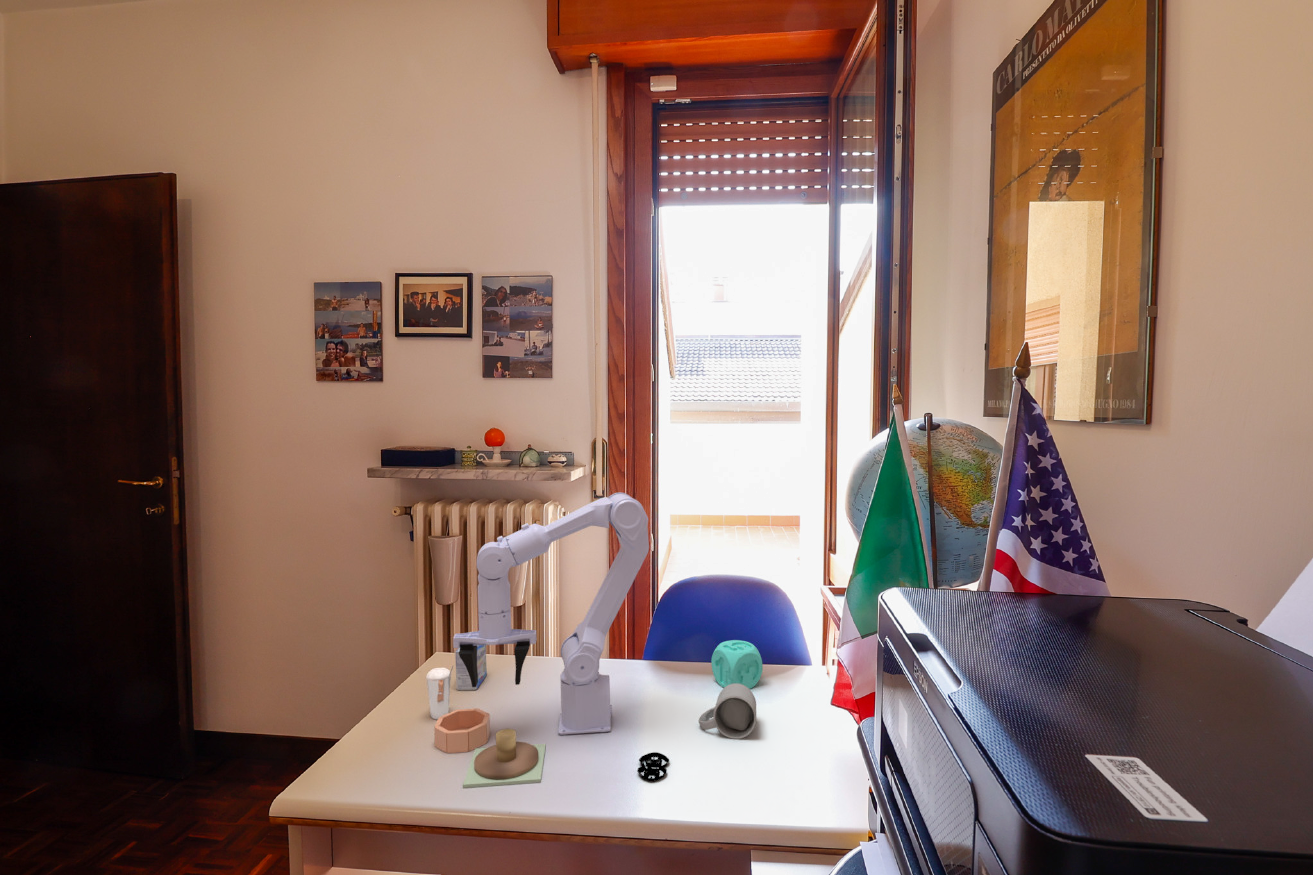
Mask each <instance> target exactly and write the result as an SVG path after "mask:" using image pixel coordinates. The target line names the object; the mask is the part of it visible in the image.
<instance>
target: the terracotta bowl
mask: <svg viewBox="0 0 1313 875" xmlns="http://www.w3.org/2000/svg"><path fill="white" fill-rule="evenodd" d="M490 716H491V715H490V713H489V712H487V711H484V710H482V709H481V708H477V707H475V708H463V709H456V710H452V711H451V712H449V713H448V714H445V715H443V716H441V717H439V719H437V721H436V723H435V725H434V726H433V727H434V729H433V730H434V747H435V748H437V749H438V750H440V751H442V752H444V753H447V754H454V753H455V754H456V753H468V752H471V751H475V749H476V748H481V747H482V746H484V745H486V744H487V743H488V741H489V738H490V735H491V717H490Z"/></svg>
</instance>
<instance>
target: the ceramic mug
mask: <svg viewBox="0 0 1313 875" xmlns="http://www.w3.org/2000/svg"><path fill="white" fill-rule="evenodd" d="M698 723H699V726H700V728H701V729H702V730H703V731H705V730H706V731H707V730H712V729H717V731H718V732H719V733H720V734H721V735H723V736H724V737H725V738H729V739H732V740H740V739H744V738H746V737H748V736H749V735H750V734H751V733H752V732H753V731H754V729H755V727H756V724H757V700H756V698H755V695H754V693H753V691H752V690H751V689H749V688H747V687H746V686H744V685H742V684H730V685H728V686H726V687H725V688H722V690H721V691H720V692H719V694H718V696H717V699H716V702H715V706H714V707H712V708H709V709H707V710H706V711H704V712H703V713H702V714H701V715H700V716H699V717H698Z"/></svg>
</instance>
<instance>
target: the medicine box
mask: <svg viewBox="0 0 1313 875" xmlns="http://www.w3.org/2000/svg"><path fill="white" fill-rule="evenodd" d="M486 646H487V645H478V646H477V671H478V683H477V686H476V687H472V684H471V679H470V676H469V673H468V671H467V668H466V666H465V664H464V663H463V661H462V659H461V658H460V656H459V651H460V647H459V648H456V650H455V652H454V654H455V655H454V656H455V657H454V658H455V680H456V681H455V682H456V691H477V690H478V689H479V687H480V686H481V685H482V683H483V682H484V680H485V678H486V677H487V675H488V673H487V647H486Z"/></svg>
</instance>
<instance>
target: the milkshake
mask: <svg viewBox="0 0 1313 875" xmlns="http://www.w3.org/2000/svg"><path fill="white" fill-rule="evenodd" d="M453 668H454V665H452V666H451V668H450V670H449V669H448V668H446V667H434V668H432V669H431V670H429V671H428V673H427V674H426V677H425V679H426V685H427V693H428V701H429V703H428V704H429V711H430V718H432V719H433V720H438V719H439V717H441V716H443V715H445V714H448V713H450V712H449V711H450V696H451V695H450V694H451V691H450V690H451V678H452V674H451V673H452V670H453Z"/></svg>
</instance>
